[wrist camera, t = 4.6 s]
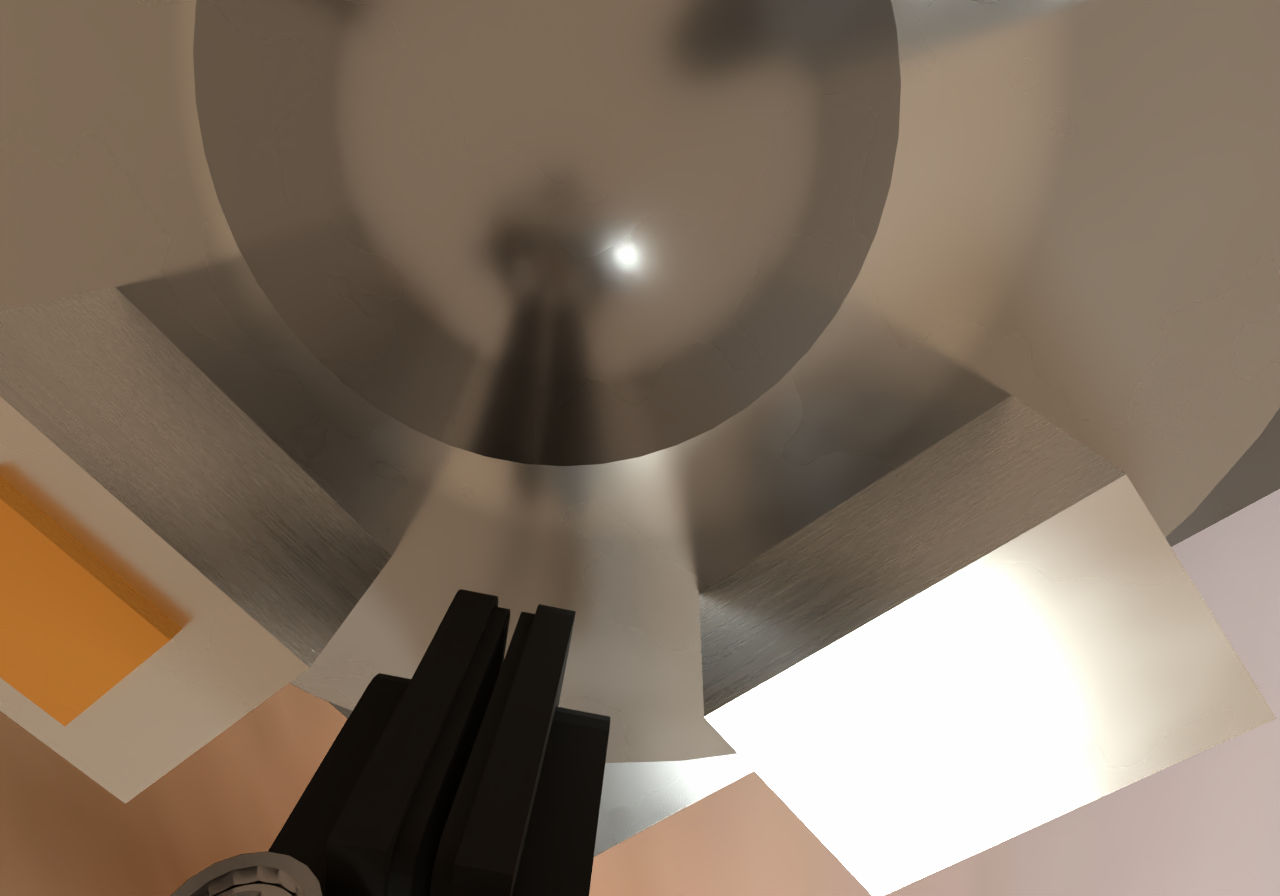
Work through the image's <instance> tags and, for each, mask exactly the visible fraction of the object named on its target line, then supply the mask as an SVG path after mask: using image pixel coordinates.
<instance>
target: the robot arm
mask: <svg viewBox="0 0 1280 896" xmlns="http://www.w3.org/2000/svg"><path fill="white" fill-rule="evenodd" d="M575 614H576V611H572V610H567V609H562V608H557V607H552V606H546V605H541V604H539V605H538V607H537V610H536V613H535V614H533V613H527V612H521V614H520V617H519V619H518V622H517V625H516V628H515V631H514V633H513V636H512V639H511V642H510V645H509V647H508V650H507V653H506V656H505V659H504V655H505V648H506V642H507V635H508V628H509V621H510V609H506V608H501V607H498V596H494V595H489V594H484V593H478V592H473V591H468V590H463V589H460V590H458V592H457V593H456V595H455V597H454V599H453V601H452V602H451V604H450V606H449V608H448V610H447V612H446V614H445V616H444V618H443V620H442V622H441V623H440V625H439V627H438V629H437V631H436V633H435V635H434V637H433V639H432V641H431V643H430V644H429V646H428V648H427V650H426V652H425V654H424V656H423V658H422V660H421V662H420V664H419V665H418V667H417V669H416V671H415V673H414V675H413V677H412V679H408V678H403V677H397V676H392V675H387V674H381V673H379V674H377V675H376V676H374V678H373V679H372V680H371V682H370V683H369V685H368V686H367V688H366V690H365V691H364V693H363V695H362V696H361V698H360V700H359V701H358V703H357V705H356V706H355V708H354V710H353V711H352V713H351V715H350V716H349V718H348V720H347V721H346V723H345V724H344V726H343V728H342V729H341V731H340V733H339V734H338V736H337V738H336V739H335V741H334V743H333V744H332V746H331V748H330V749H329V751H328V753H327V754H326V756H325V758H324V759H323V761H322V763H321V764H320V766H319V768H318V769H317V771H316V773H315V774H314V776H313V778H312V779H311V781H310V783H309V784H308V786H307V788H306V789H305V791H304V793H303V794H302V796H301V798H300V799H299V801H298V803H297V804H296V806H295V808H294V809H293V811H292V813H291V814H290V816H289V818H288V819H287V821H286V823H285V824H284V826H283V828H282V829H281V831H280V833H279V834H278V836H277V838H276V839H275V841H274V843H273V844H272V846H271V848H270V849H269V851H268V852H257V853H248V854H240V855H237V856H234V857H232V858H229V859H226V860H223V861H220V862H217V863H214V864H213V865H211V866H209V867H208V868H206V869H204V870H203V871H201V872H199V873H198V874H196V875H194V876H193V877H191V878H189V879H188V880H187V881H186V882H185V883H184V884H183V885H182V886H181V887H180V888H178V889H177V890H176V891H175V892H174V893H173V894H172V895H171V896H589V889H590V881H591V873H592V865H593V857H594V849H595V841H596V834H597V826H598V818H599V810H600V802H601V794H602V786H603V778H604V770H605V762H606V754H607V746H608V738H609V730H610V716H604V715H599V714H594V713H588V712H583V711H578V710H572V709H567V708H562V707H558V706H559V701H560V695H561V690H562V685H563V679H564V674H565V669H566V663H567V658H568V653H569V647H570V642H571V636H572V631H573V626H574V620H575Z"/></svg>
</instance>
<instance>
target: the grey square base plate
mask: <svg viewBox="0 0 1280 896" xmlns="http://www.w3.org/2000/svg"><path fill="white" fill-rule="evenodd" d="M1278 489H1280V408H1279V409H1278V411H1277V412H1276V414H1275V415H1274V416H1273V418H1272V419H1271V421H1270V422H1269V424H1268V425H1267V426H1266V428H1265V429H1264V431H1263V432H1262V433H1261V435H1260V436H1259V437H1258V439H1257V440H1256V441H1255V442H1254V443H1253V444H1252V445H1251V446H1250V448H1249V449H1248V450H1247V451H1246V452H1245V453H1244V454H1243V456H1242V457H1241V458H1240V459H1239V460H1238V461H1237V462H1236V464H1235V465H1234V466H1233V467H1232V468H1231V469H1230V470H1229V472H1228V473H1227V474H1226V475H1225V476H1224V477H1223V478H1222V480H1221V481H1220V482H1219V483H1218V484H1217V485H1216V486H1215V488H1214V489H1213V490H1212V491H1211V492H1210V493H1209V494H1208V495H1207V497H1206V498H1205V499H1204V500H1203V501H1202V502H1201V503H1200V505H1199V506H1198V507H1197V508H1196V509H1195V510H1194V511H1193V513H1191V514H1190V515H1189V516H1188V517H1187V518H1186V519H1185V520H1184V521H1183V522H1182V523H1181V524H1180V525H1178V526H1177V527H1176V528H1175V529H1174V530H1173V531H1172V532H1171V533H1170V534H1169V535H1168V536H1167V537H1165V538H1166V540H1167V542H1168V543H1169V545H1170V546H1171V547H1172V546H1174V545H1175V544H1177V543H1179V542H1181V541H1183V540H1185V539H1187V538H1189V537H1190V536H1192V535H1194V534H1196V533H1198V532H1200V531H1202V530H1203V529H1205V528H1207V527H1209V526H1211V525H1213V524H1215V523H1216V522H1218V521H1220V520H1222V519H1224V518H1226V517H1228V516H1230V515H1231V514H1233V513H1235V512H1237V511H1239V510H1241V509H1243V508H1244V507H1246V506H1248V505H1250V504H1252V503H1254V502H1256V501H1257V500H1259V499H1261V498H1263V497H1265V496H1267V495H1269V494H1270V493H1272V492H1274V491H1276V490H1278ZM328 702H329V701H328ZM329 703H330V704H332V705H333V706H334V707H335V708H336V709H337V710H338V711H340V712H341V713H342V714H343V715H344V716H345V717H347V718H349V716H350V715H351V713H352V710H349V709H347V708H344V707H342V706H339V705H336V704H334V703H331V702H329ZM753 771H755V770H754V769H753V768H752V767H751V766H750V765H749V764H748V763H747V762H746V761H745V760H744V759H743V758H742V757H741V756H740V755H739V754H732V755H724V756H716V757H708V758H700V759H692V760H684V761H663V762H623V763H605V770H604V778H603V786H602V794H601V802H600V810H599V818H598V826H597V834H596V841H595V849H594V856H596V855H598V854H600V853H602V852H604V851H605V850H607V849H609V848H611V847H613V846H615V845H617V844H619V843H620V842H622V841H624V840H626V839H628V838H630V837H632V836H633V835H635V834H637V833H639V832H641V831H643V830H645V829H646V828H648V827H650V826H652V825H654V824H656V823H658V822H660V821H661V820H663V819H665V818H667V817H669V816H671V815H673V814H674V813H676V812H678V811H680V810H682V809H684V808H686V807H687V806H689V805H691V804H693V803H695V802H697V801H699V800H700V799H702V798H704V797H706V796H708V795H710V794H712V793H714V792H715V791H717V790H719V789H721V788H723V787H725V786H727V785H728V784H730V783H732V782H734V781H736V780H738V779H740V778H741V777H743V776H745V775H747V774H749V773H751V772H753Z"/></svg>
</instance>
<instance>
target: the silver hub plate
mask: <svg viewBox="0 0 1280 896" xmlns="http://www.w3.org/2000/svg"><path fill="white" fill-rule="evenodd" d="M1279 408H1280V0H0V711H1V712H2V713H4V714H5V715H6V716H8V717H9V718H10V719H12V720H13V721H14V722H16V723H17V724H18V725H20V726H21V727H23V728H24V729H25V730H27V731H28V732H29V733H31V734H32V735H33V736H35V737H36V738H37V739H39V740H40V741H41V742H43V743H44V744H45V745H47V746H48V747H49V748H51V749H52V750H53V751H55V752H56V753H57V754H59V755H60V756H62V757H63V758H64V759H66V760H67V761H68V762H70V763H71V764H72V765H74V766H75V767H76V768H78V769H79V770H80V771H82V772H83V773H84V774H86V775H87V776H88V777H90V778H91V779H92V780H94V781H95V782H96V783H98V784H99V785H100V786H102V787H103V788H105V789H106V790H107V791H109V792H110V793H111V794H113V795H114V796H115V797H117V798H118V799H119V800H121V801H122V802H123V803H125V804H126V803H127V802H129V801H130V800H131V799H133V798H134V797H135V796H137V795H138V794H139V793H141V792H142V791H144V790H145V789H146V788H148V787H149V786H150V785H152V784H153V783H154V782H156V781H157V780H158V779H160V778H161V777H162V776H164V775H165V774H167V773H168V772H169V771H171V770H172V769H173V768H175V767H176V766H177V765H179V764H180V763H181V762H183V761H184V760H186V759H187V758H188V757H190V756H191V755H192V754H194V753H195V752H196V751H198V750H199V749H200V748H202V747H203V746H204V745H206V744H207V743H209V742H210V741H211V740H213V739H214V738H215V737H217V736H218V735H219V734H221V733H222V732H223V731H225V730H226V729H228V728H229V727H230V726H232V725H233V724H234V723H236V722H237V721H238V720H240V719H241V718H242V717H244V716H245V715H246V714H248V713H249V712H251V711H252V710H253V709H255V708H256V707H257V706H259V705H260V704H261V703H263V702H264V701H265V700H267V699H268V698H270V697H271V696H272V695H274V694H275V693H276V692H278V691H279V690H280V689H282V688H283V687H284V686H286V685H287V684H288V683H290V684H292V685H294V686H296V687H298V688H300V689H302V690H304V691H306V692H308V693H310V694H312V695H314V696H316V697H318V698H321V699H323V700H326V701H329V702H331V703H334V704H336V705H339V706H342V707H344V708H347V709H349V710H352V711H353V710H354V708H355V706H356V705H357V703H358V701H359V700H360V698H361V696H362V695H363V693H364V691H365V690H366V688H367V686H368V685H369V683H370V682H371V680H372V679H373V678H374V676H376V675H377V674H379V673H381V674H387V675H392V676H397V677H403V678H408V679H412V677H413V675H414V673H415V671H416V669H417V667H418V665H419V664H420V662H421V660H422V658H423V656H424V654H425V652H426V650H427V648H428V646H429V644H430V643H431V641H432V639H433V637H434V635H435V633H436V631H437V629H438V627H439V625H440V623H441V622H442V620H443V618H444V616H445V614H446V612H447V610H448V608H449V606H450V604H451V602H452V601H453V599H454V597H455V595H456V593H457V592H458V590H460V589H463V590H468V591H473V592H478V593H484V594H489V595H494V596H498V607H501V608H506V609H510V621H509V628H508V635H507V642H506V648H505V655H504V659H505V656H506V653H507V650H508V647H509V645H510V642H511V639H512V636H513V633H514V631H515V628H516V625H517V622H518V619H519V617H520V614H521V612H527V613H533V614H535V613H536V610H537V607H538V605H539V604H541V605H546V606H552V607H557V608H562V609H567V610H572V611H576V614H575V620H574V626H573V631H572V636H571V642H570V647H569V653H568V658H567V663H566V669H565V674H564V679H563V685H562V690H561V695H560V701H559V706H558V707H562V708H567V709H572V710H578V711H583V712H588V713H594V714H599V715H604V716H610V730H609V738H608V746H607V754H606V762H605V763H623V762H663V761H684V760H692V759H700V758H708V757H716V756H724V755H732V754H739V755H740V756H741V757H742V758H743V759H744V760H745V761H746V762H747V763H748V764H749V765H750V766H751V767H752V768H753V769H754V770H755V772H756V773H757V774H758V775H759V776H760V777H761V778H762V779H763V780H764V781H765V782H766V783H767V784H768V785H769V786H770V787H771V788H772V790H773V791H774V792H775V793H776V794H777V795H778V796H779V797H780V798H781V799H782V800H783V801H784V802H785V803H786V804H787V805H788V806H789V808H790V809H791V810H792V811H793V812H794V813H795V814H796V815H797V816H798V817H799V818H800V819H801V820H802V821H803V822H804V823H805V824H806V826H807V827H808V828H809V829H810V830H811V831H812V832H813V833H814V834H815V835H816V836H817V837H818V838H819V839H820V840H821V841H822V843H823V844H824V845H825V846H826V847H827V848H828V849H829V850H830V851H831V852H832V853H833V854H834V855H835V856H836V857H837V858H838V859H839V861H840V862H841V863H842V864H843V865H844V866H845V867H846V868H847V869H848V870H849V871H850V872H851V873H852V874H853V875H854V876H855V877H856V879H857V880H858V881H859V882H860V883H861V884H862V885H863V886H864V887H865V888H866V889H867V890H868V891H869V892H870V893H871V894H872V896H884V895H886V894H888V893H890V892H892V891H895V890H897V889H899V888H901V887H904V886H906V885H908V884H910V883H912V882H915V881H917V880H919V879H921V878H923V877H926V876H928V875H930V874H932V873H935V872H937V871H939V870H941V869H943V868H946V867H948V866H950V865H952V864H954V863H957V862H959V861H961V860H963V859H966V858H968V857H970V856H972V855H974V854H977V853H979V852H981V851H983V850H985V849H988V848H990V847H992V846H994V845H997V844H999V843H1001V842H1003V841H1005V840H1008V839H1010V838H1012V837H1014V836H1017V835H1019V834H1021V833H1023V832H1025V831H1028V830H1030V829H1032V828H1034V827H1036V826H1039V825H1041V824H1043V823H1045V822H1048V821H1050V820H1052V819H1054V818H1056V817H1059V816H1061V815H1063V814H1065V813H1067V812H1070V811H1072V810H1074V809H1076V808H1079V807H1081V806H1083V805H1085V804H1087V803H1090V802H1092V801H1094V800H1096V799H1099V798H1101V797H1103V796H1105V795H1107V794H1110V793H1112V792H1114V791H1116V790H1118V789H1121V788H1123V787H1125V786H1127V785H1130V784H1132V783H1134V782H1136V781H1138V780H1141V779H1143V778H1145V777H1147V776H1149V775H1152V774H1154V773H1156V772H1158V771H1161V770H1163V769H1165V768H1167V767H1169V766H1172V765H1174V764H1176V763H1178V762H1181V761H1183V760H1185V759H1187V758H1189V757H1192V756H1194V755H1196V754H1198V753H1200V752H1203V751H1205V750H1207V749H1209V748H1212V747H1214V746H1216V745H1218V744H1220V743H1223V742H1225V741H1227V740H1229V739H1231V738H1234V737H1236V736H1238V735H1240V734H1243V733H1245V732H1247V731H1249V730H1251V729H1254V728H1256V727H1258V726H1260V725H1262V724H1265V723H1267V722H1269V721H1271V720H1274V719H1276V717H1275V716H1274V714H1273V712H1272V711H1271V709H1270V708H1269V706H1268V704H1267V703H1266V701H1265V699H1264V698H1263V696H1262V695H1261V693H1260V691H1259V690H1258V688H1257V686H1256V685H1255V683H1254V681H1253V680H1252V678H1251V677H1250V675H1249V673H1248V672H1247V670H1246V668H1245V667H1244V665H1243V664H1242V662H1241V660H1240V659H1239V657H1238V655H1237V654H1236V652H1235V651H1234V649H1233V647H1232V646H1231V644H1230V642H1229V641H1228V639H1227V638H1226V636H1225V634H1224V633H1223V631H1222V629H1221V628H1220V626H1219V625H1218V623H1217V621H1216V620H1215V618H1214V616H1213V615H1212V613H1211V611H1210V610H1209V608H1208V607H1207V605H1206V603H1205V602H1204V600H1203V598H1202V597H1201V595H1200V594H1199V592H1198V590H1197V589H1196V587H1195V585H1194V584H1193V582H1192V581H1191V579H1190V577H1189V576H1188V574H1187V572H1186V571H1185V569H1184V568H1183V566H1182V564H1181V563H1180V561H1179V559H1178V558H1177V556H1176V555H1175V553H1174V551H1173V550H1172V548H1171V546H1170V545H1169V543H1168V542H1167V540H1166V538H1165V537H1167V536H1168V535H1169V534H1170V533H1171V532H1172V531H1173V530H1174V529H1175V528H1176V527H1177V526H1178V525H1180V524H1181V523H1182V522H1183V521H1184V520H1185V519H1186V518H1187V517H1188V516H1189V515H1190V514H1191V513H1193V511H1194V510H1195V509H1196V508H1197V507H1198V506H1199V505H1200V503H1201V502H1202V501H1203V500H1204V499H1205V498H1206V497H1207V495H1208V494H1209V493H1210V492H1211V491H1212V490H1213V489H1214V488H1215V486H1216V485H1217V484H1218V483H1219V482H1220V481H1221V480H1222V478H1223V477H1224V476H1225V475H1226V474H1227V473H1228V472H1229V470H1230V469H1231V468H1232V467H1233V466H1234V465H1235V464H1236V462H1237V461H1238V460H1239V459H1240V458H1241V457H1242V456H1243V454H1244V453H1245V452H1246V451H1247V450H1248V449H1249V448H1250V446H1251V445H1252V444H1253V443H1254V442H1255V441H1256V440H1257V439H1258V437H1259V436H1260V435H1261V433H1262V432H1263V431H1264V429H1265V428H1266V426H1267V425H1268V424H1269V422H1270V421H1271V419H1272V418H1273V416H1274V415H1275V414H1276V412H1277V411H1278V409H1279Z"/></svg>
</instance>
